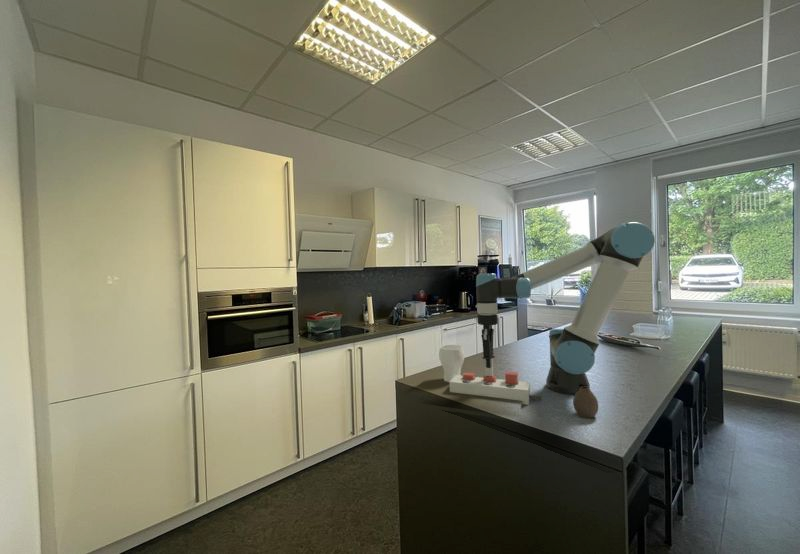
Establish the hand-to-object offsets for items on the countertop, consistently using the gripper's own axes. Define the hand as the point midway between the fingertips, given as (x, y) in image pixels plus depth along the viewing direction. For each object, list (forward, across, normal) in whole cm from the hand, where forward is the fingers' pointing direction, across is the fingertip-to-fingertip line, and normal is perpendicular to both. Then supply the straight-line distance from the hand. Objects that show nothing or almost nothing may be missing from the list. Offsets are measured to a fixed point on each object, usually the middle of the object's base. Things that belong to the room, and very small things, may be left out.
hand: (489, 375), depth 123 cm
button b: (+4, 0, 0) cm, 4 cm away
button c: (+4, 0, -8) cm, 9 cm away
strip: (+7, +2, +2) cm, 7 cm away
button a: (+2, 0, +8) cm, 8 cm away
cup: (+7, -8, -17) cm, 20 cm away
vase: (+7, +9, +31) cm, 33 cm away
